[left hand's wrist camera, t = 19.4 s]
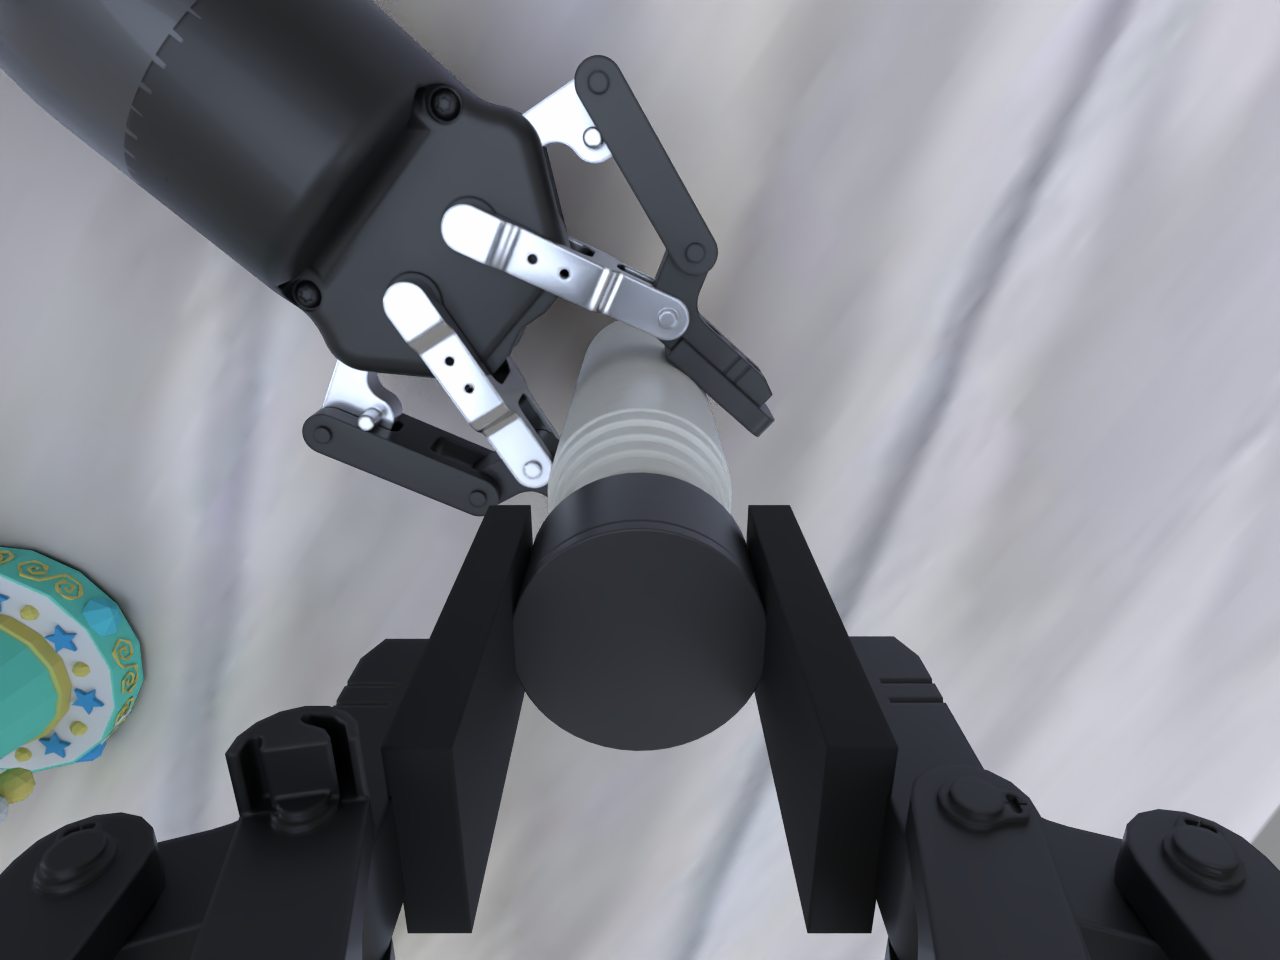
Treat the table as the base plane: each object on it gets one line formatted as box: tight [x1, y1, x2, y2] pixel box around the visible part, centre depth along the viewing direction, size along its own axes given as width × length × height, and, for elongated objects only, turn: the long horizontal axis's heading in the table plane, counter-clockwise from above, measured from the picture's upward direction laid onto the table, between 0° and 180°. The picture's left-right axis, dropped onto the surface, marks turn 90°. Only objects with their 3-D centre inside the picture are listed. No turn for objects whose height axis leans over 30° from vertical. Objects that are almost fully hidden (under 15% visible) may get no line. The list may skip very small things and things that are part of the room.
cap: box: [513, 472, 766, 751], centre depth 14 cm, size 4×4×2 cm
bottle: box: [548, 320, 732, 515], centre depth 21 cm, size 4×4×18 cm
